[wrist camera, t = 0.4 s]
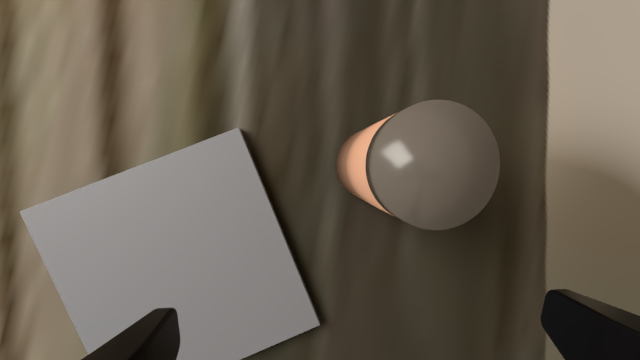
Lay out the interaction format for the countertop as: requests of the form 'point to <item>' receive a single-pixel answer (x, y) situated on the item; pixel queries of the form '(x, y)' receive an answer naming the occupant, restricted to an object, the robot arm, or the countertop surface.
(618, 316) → the robot arm
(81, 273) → the gray board
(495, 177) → the terracotta jar
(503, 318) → the countertop surface
